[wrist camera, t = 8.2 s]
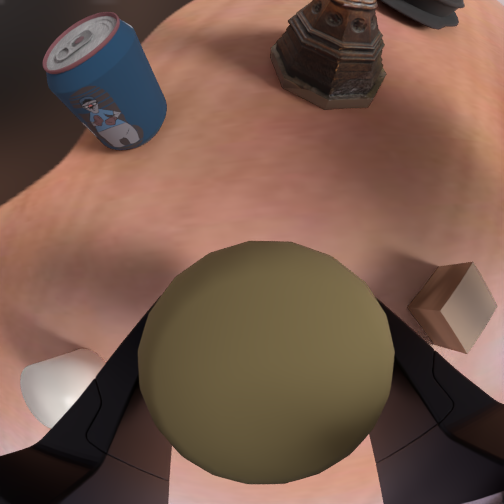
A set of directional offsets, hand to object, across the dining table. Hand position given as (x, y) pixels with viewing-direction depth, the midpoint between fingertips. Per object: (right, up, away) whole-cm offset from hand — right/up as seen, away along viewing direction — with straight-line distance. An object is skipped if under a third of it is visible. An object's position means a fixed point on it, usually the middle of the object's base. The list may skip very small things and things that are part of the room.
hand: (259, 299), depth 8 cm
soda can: (-11, +13, +15) cm, 23 cm away
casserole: (+27, +45, +19) cm, 55 cm away
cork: (0, -2, +7) cm, 7 cm away
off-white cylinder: (-15, -10, +12) cm, 21 cm away
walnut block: (+16, -3, +13) cm, 21 cm away
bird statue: (+10, +20, +16) cm, 27 cm away
